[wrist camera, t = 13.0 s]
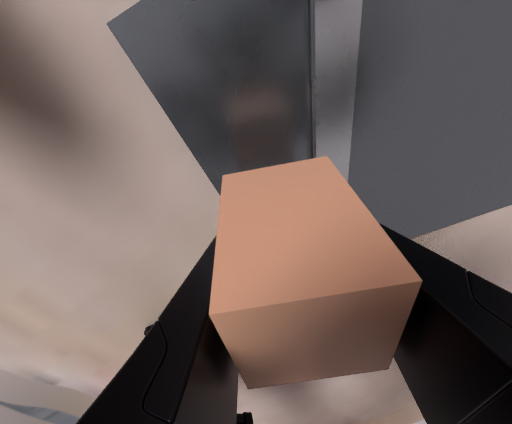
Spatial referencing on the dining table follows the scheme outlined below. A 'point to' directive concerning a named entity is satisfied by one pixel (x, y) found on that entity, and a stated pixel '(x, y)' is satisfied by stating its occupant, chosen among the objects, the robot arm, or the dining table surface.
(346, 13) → the crank
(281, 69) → the base plate
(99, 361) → the dining table surface
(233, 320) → the block
